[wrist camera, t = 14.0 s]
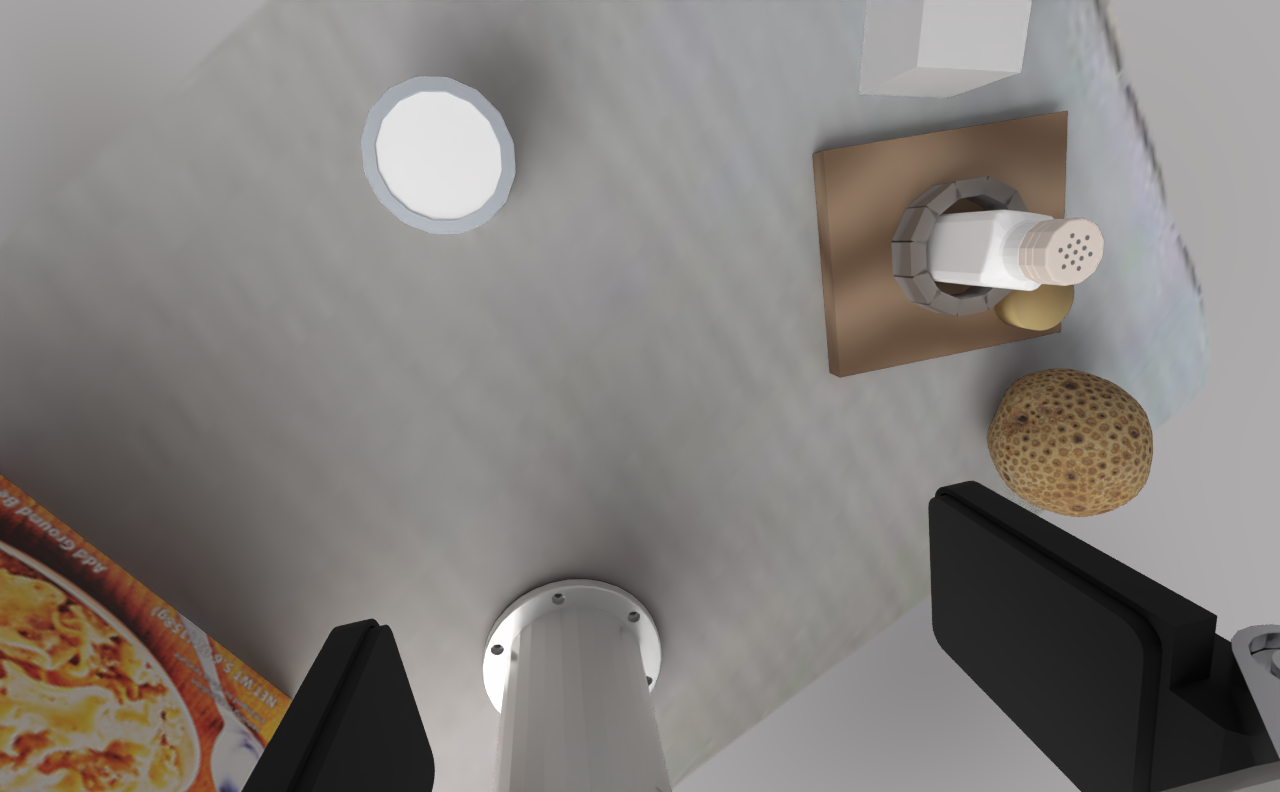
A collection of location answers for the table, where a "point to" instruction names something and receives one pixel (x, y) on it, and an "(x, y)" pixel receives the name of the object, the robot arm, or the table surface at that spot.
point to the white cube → (941, 45)
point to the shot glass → (438, 155)
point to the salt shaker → (1012, 249)
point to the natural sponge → (1071, 442)
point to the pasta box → (112, 675)
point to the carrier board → (875, 214)
